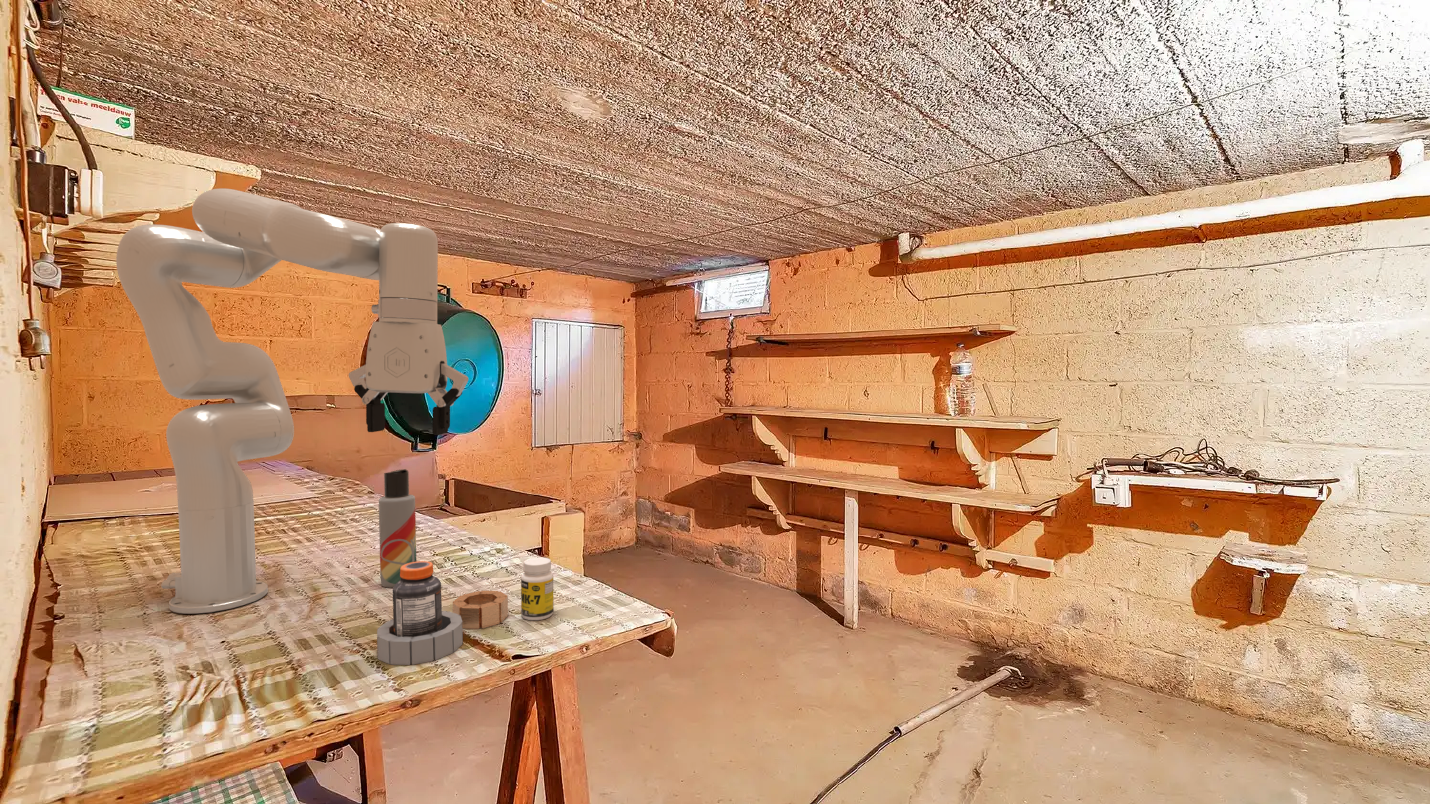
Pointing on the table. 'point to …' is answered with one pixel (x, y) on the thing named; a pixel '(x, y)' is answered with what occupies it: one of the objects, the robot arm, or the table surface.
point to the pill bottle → (417, 601)
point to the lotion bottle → (396, 527)
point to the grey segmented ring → (420, 642)
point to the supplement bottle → (537, 589)
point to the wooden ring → (481, 609)
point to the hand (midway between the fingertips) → (408, 432)
